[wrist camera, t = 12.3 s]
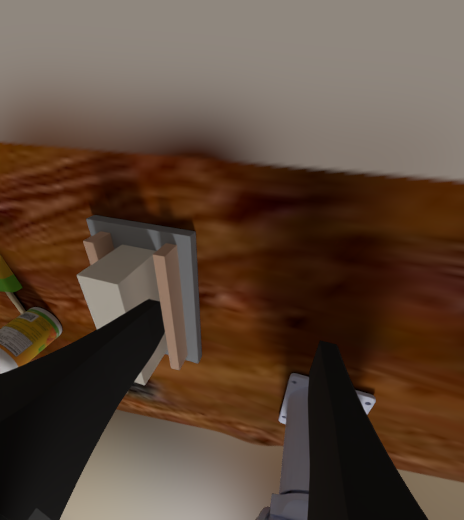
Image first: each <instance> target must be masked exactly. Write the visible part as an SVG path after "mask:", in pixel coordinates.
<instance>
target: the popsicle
mask: <svg viewBox="0 0 464 520" xmlns="http://www.w3.org/2000/svg"><path fill="white" fill-rule="evenodd" d="M21 288H23V287H22V286H21V284H20V283H19V281H18V280H17V278H16V277H15V275H14V274H13V272H12V271H11V269H10V268H9V266H8V265H7V264H6V262H5V261H4V259H3V258H2V256H1V255H0V291H3V292H6V294H7V295H8V296H9V298H10V299H11V301H12V302H13V303H14V305H15V306H16V307H17V309H18V310H19V312H20V313H21V314H23V313H24V312H26V311H25V309H24V308H23V306H22V305H21V304H20V302H19V301H18V299H17V298H16V296H15V295H14V294H13V292H16V291H18V290H20V289H21Z"/></svg>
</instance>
